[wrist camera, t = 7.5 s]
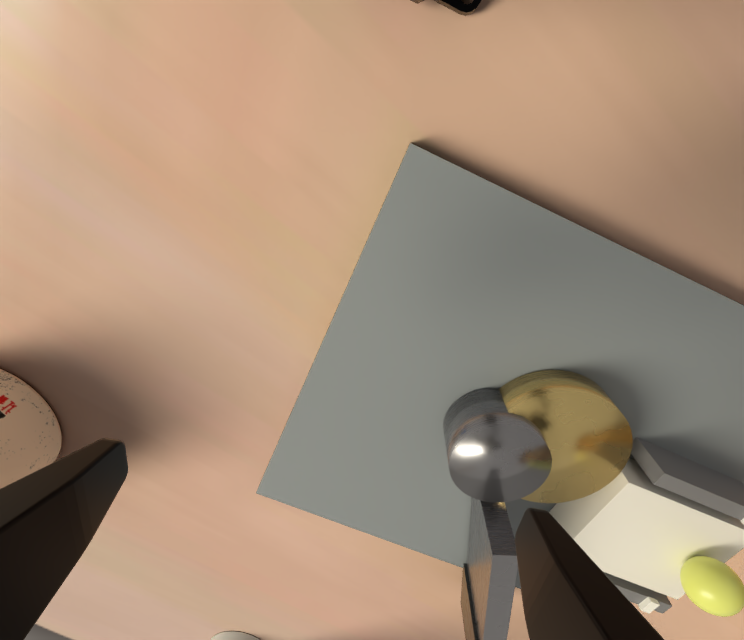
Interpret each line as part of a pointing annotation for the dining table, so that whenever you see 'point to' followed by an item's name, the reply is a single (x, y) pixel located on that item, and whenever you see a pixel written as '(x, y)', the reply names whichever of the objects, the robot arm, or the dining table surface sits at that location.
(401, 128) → the dining table surface
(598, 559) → the cam foot
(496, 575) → the cam capstan
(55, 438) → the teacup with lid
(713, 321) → the level stand
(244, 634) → the chalice
